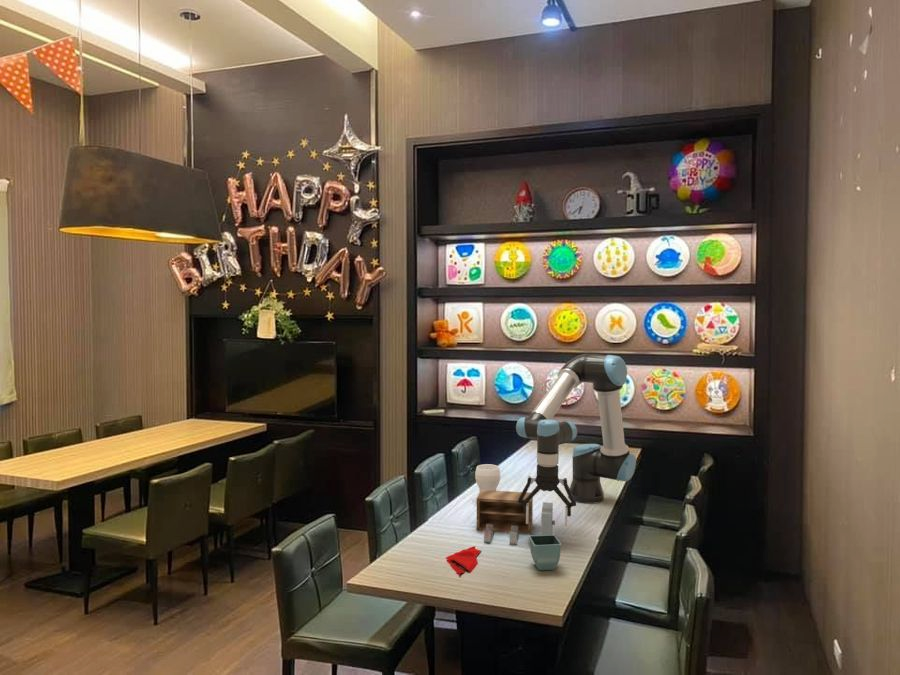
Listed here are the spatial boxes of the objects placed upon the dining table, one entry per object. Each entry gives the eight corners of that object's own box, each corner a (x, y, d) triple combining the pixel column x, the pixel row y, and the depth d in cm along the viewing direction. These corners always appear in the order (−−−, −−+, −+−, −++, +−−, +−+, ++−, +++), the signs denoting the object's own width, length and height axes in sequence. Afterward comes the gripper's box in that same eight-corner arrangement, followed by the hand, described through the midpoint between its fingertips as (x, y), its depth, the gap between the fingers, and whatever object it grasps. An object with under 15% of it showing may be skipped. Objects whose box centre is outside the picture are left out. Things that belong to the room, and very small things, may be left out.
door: (542, 534, 239) (542, 502, 239) (554, 535, 238) (555, 502, 238) (541, 547, 226) (541, 513, 226) (554, 548, 226) (554, 514, 225)
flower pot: (528, 562, 214) (528, 535, 213) (554, 561, 215) (555, 534, 214) (533, 573, 205) (534, 545, 205) (561, 572, 206) (561, 544, 205)
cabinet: (532, 523, 251) (532, 492, 250) (530, 533, 240) (531, 501, 239) (480, 520, 254) (480, 489, 254) (476, 530, 243) (476, 498, 243)
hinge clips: (519, 532, 241) (519, 520, 240) (516, 544, 229) (516, 532, 229) (488, 531, 243) (488, 519, 242) (484, 542, 231) (484, 530, 231)
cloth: (461, 545, 230) (461, 539, 230) (498, 551, 224) (498, 545, 224) (428, 573, 206) (428, 566, 206) (468, 581, 201) (468, 574, 201)
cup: (498, 506, 271) (498, 470, 270) (473, 505, 273) (473, 469, 272) (501, 499, 282) (502, 464, 281) (477, 497, 284) (477, 463, 283)
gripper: (583, 463, 232) (582, 522, 233) (512, 460, 237) (512, 518, 238) (584, 468, 225) (582, 529, 226) (511, 465, 229) (510, 524, 230)
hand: (546, 523), depth 232 cm, fingers open, 13 cm apart
